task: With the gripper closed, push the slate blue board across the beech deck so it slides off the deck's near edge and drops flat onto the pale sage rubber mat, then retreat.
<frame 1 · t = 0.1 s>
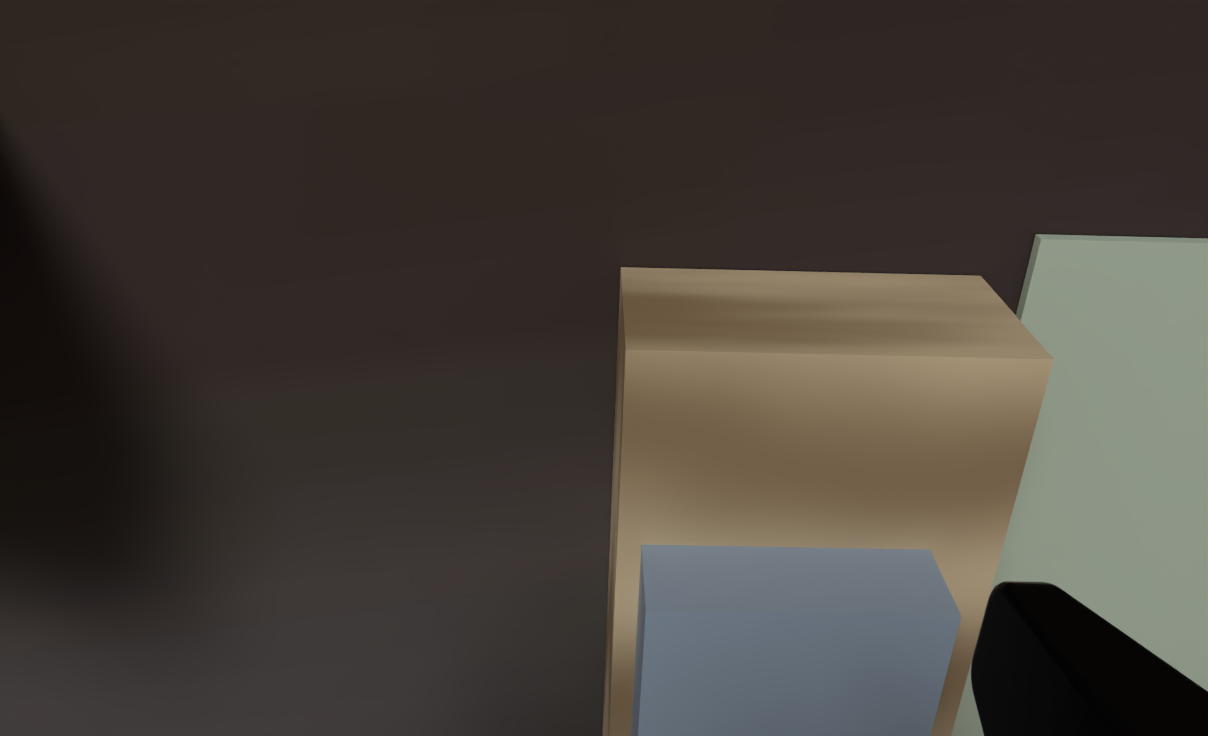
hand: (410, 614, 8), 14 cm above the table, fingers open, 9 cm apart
deck: (759, 587, 26), on the table
mat: (1152, 594, 26), on the table
slate blue board: (763, 704, 23), point 4 cm above the table, touching deck
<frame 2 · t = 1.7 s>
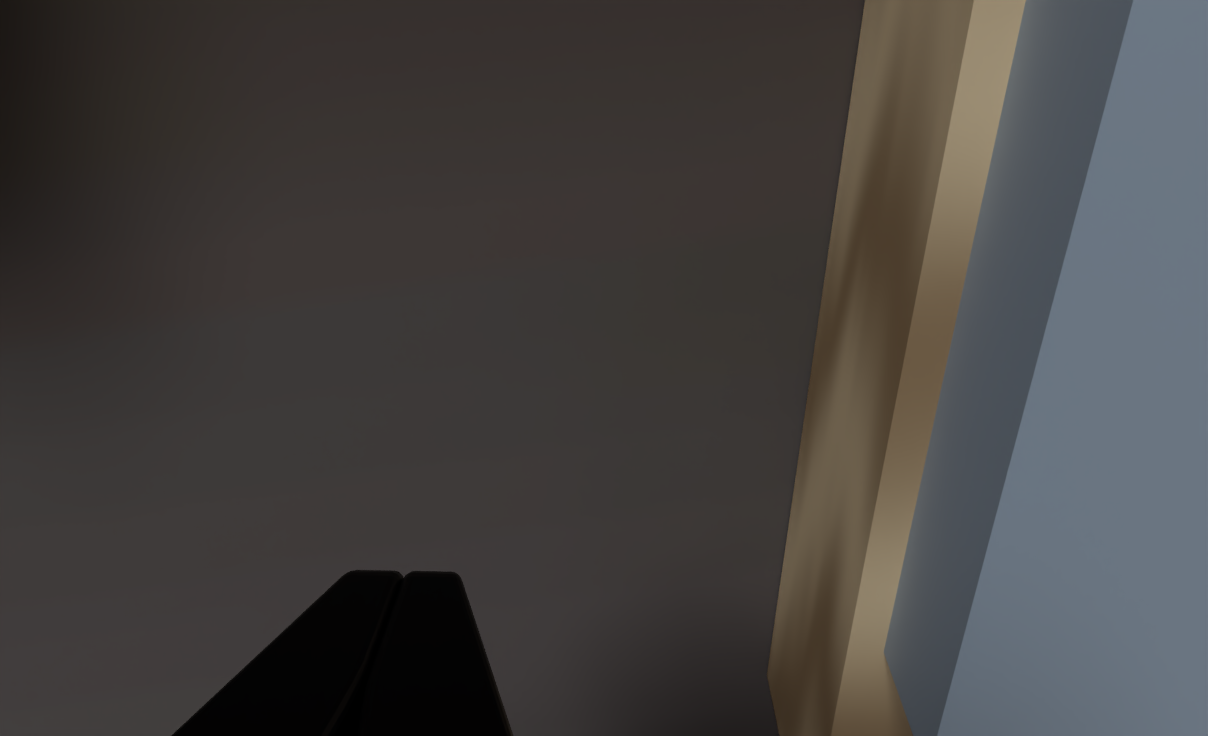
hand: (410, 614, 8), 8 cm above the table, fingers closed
deck: (1094, 241, 15), on the table
slate blue board: (1204, 366, 11), point 4 cm above the table, touching deck
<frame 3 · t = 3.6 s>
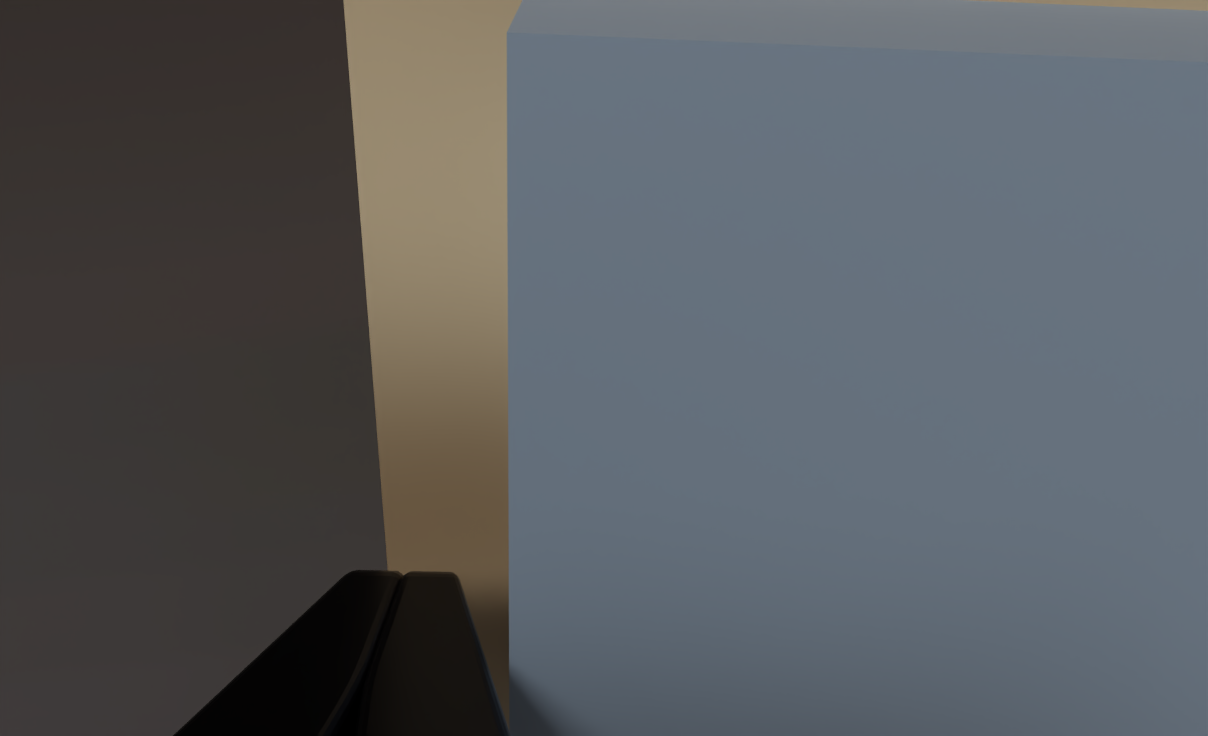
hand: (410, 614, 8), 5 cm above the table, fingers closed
deck: (773, 342, 12), on the table
slate blue board: (871, 545, 9), point 4 cm above the table, touching deck, gripper
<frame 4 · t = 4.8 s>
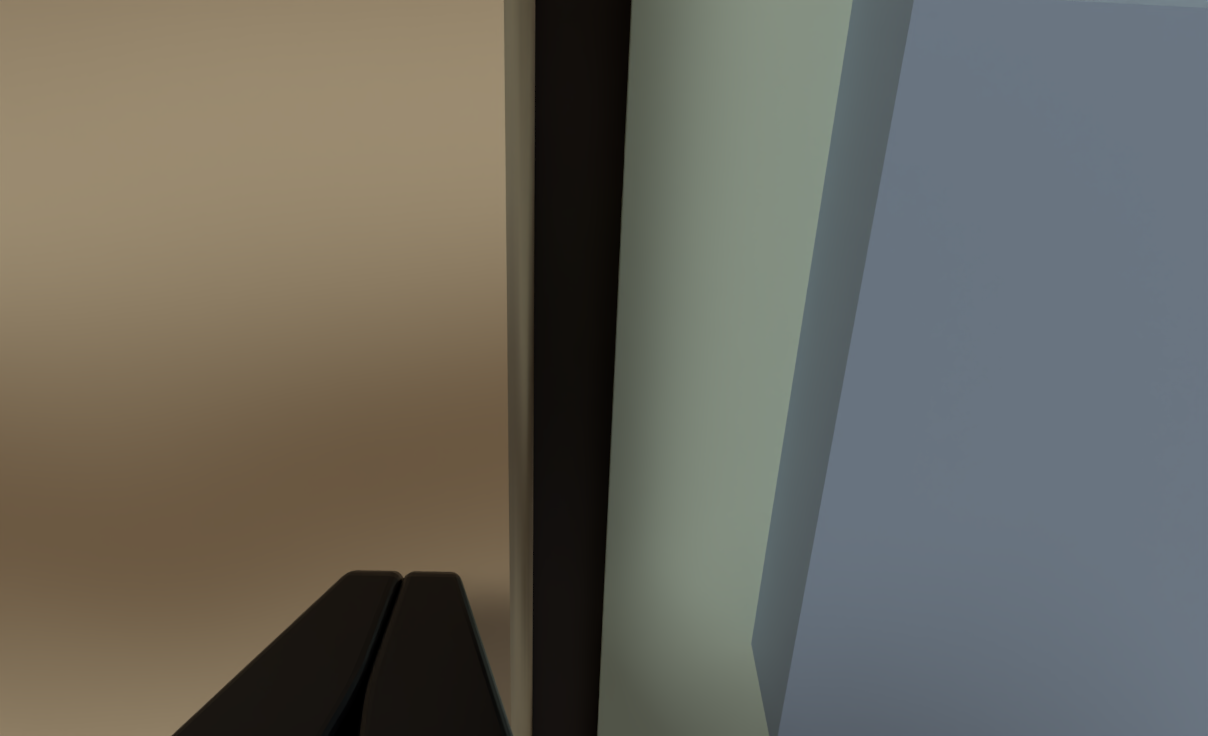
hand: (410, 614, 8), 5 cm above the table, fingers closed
deck: (204, 327, 12), on the table
mat: (1057, 352, 12), on the table
slate blue board: (1115, 464, 10), point 2 cm above the table, tilted 180°, touching mat
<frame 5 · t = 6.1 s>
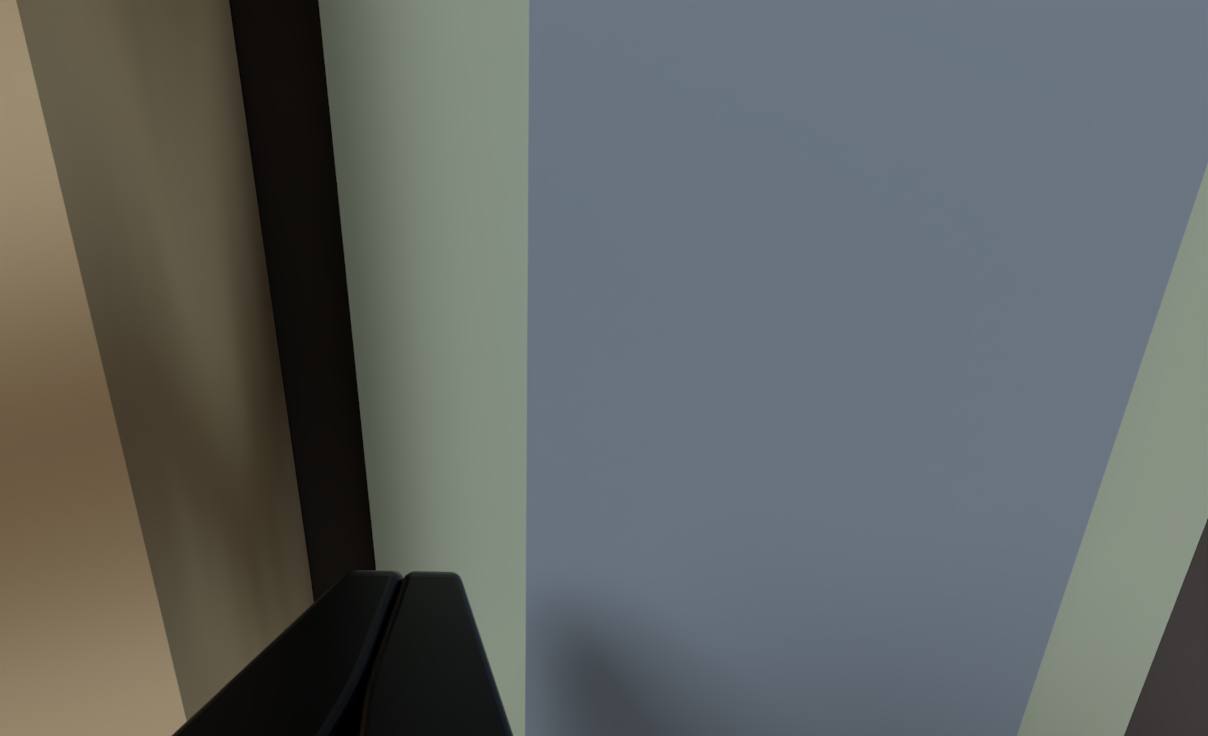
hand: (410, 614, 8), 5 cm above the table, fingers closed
mat: (810, 337, 12), on the table
slate blue board: (820, 449, 10), point 2 cm above the table, tilted 180°, touching mat
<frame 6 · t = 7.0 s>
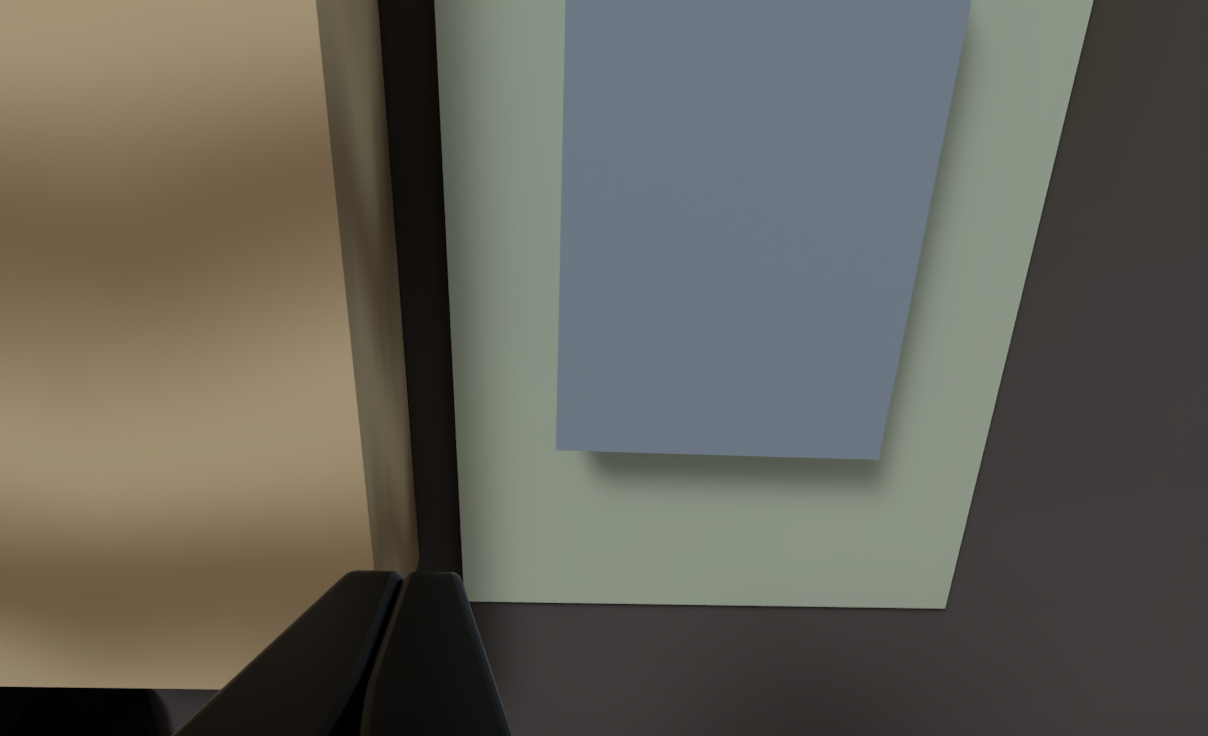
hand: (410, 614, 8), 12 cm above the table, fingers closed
deck: (168, 159, 18), on the table
mat: (745, 173, 18), on the table
slate blue board: (743, 223, 16), point 2 cm above the table, tilted 180°, touching mat
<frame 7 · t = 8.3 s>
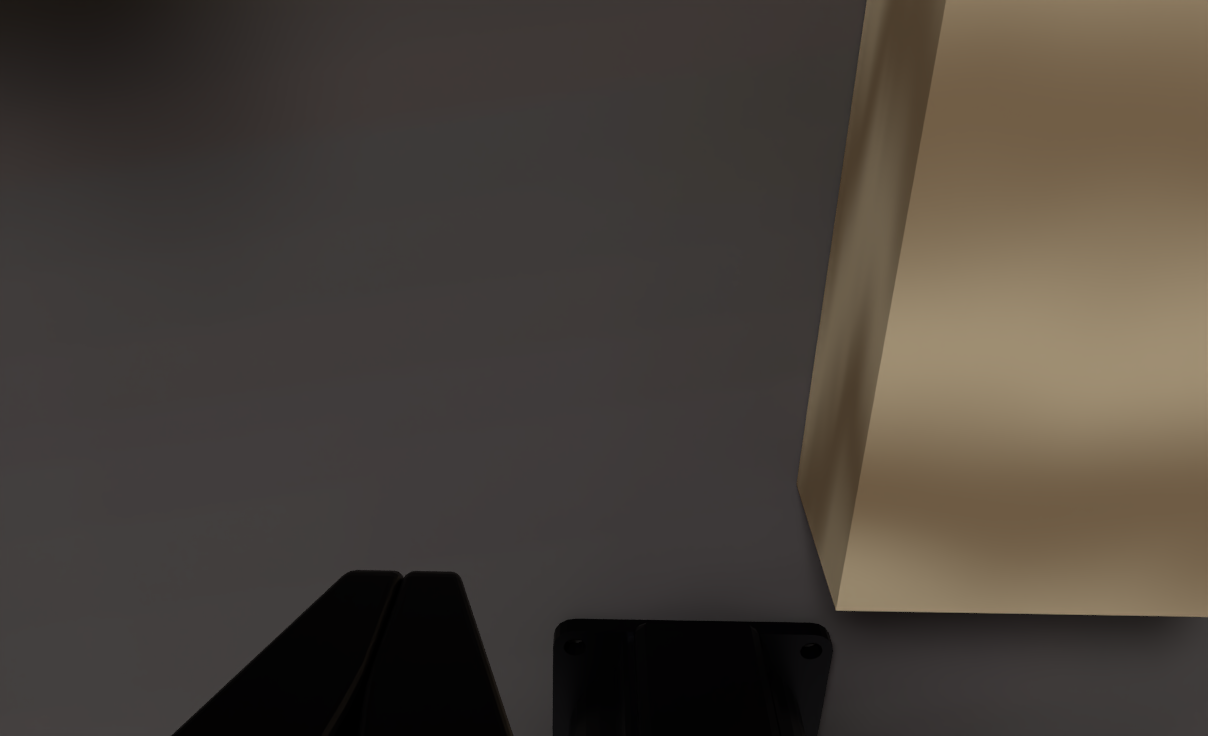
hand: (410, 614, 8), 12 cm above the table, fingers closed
deck: (1084, 66, 17), on the table
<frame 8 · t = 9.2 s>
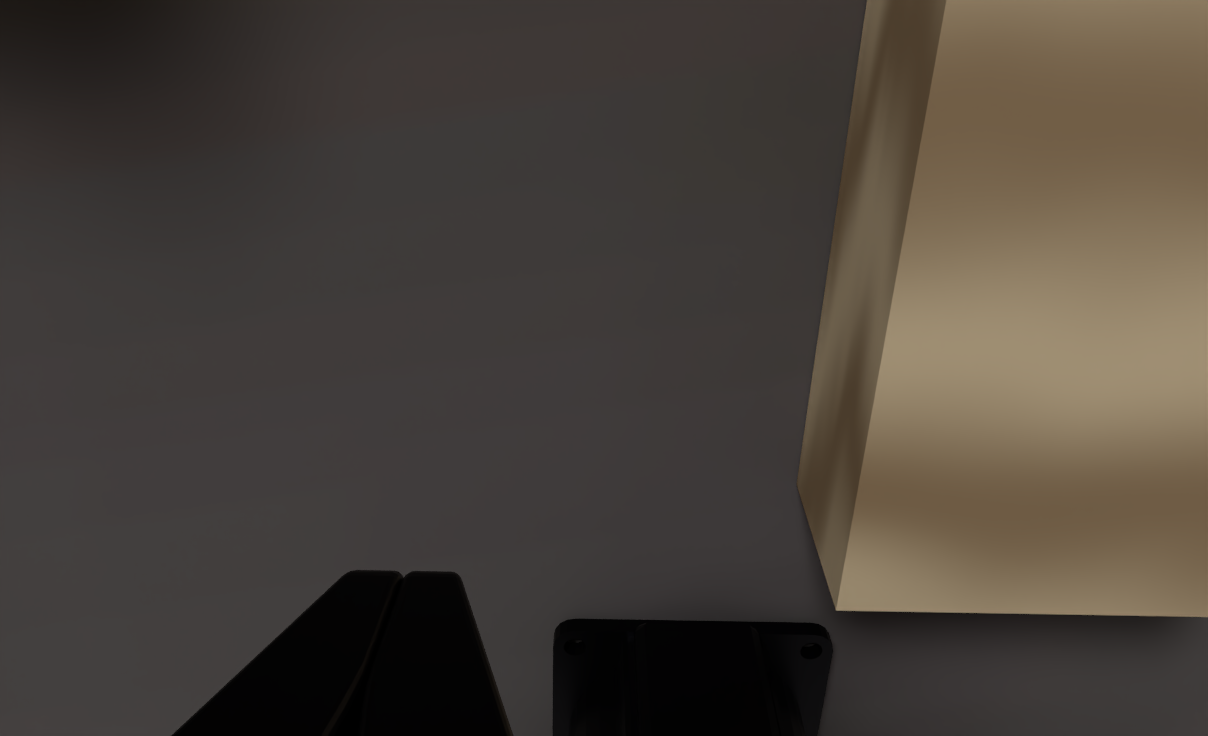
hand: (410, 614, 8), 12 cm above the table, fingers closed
deck: (1084, 66, 17), on the table
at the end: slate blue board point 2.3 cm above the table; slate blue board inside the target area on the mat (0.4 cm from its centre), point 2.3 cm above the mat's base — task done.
